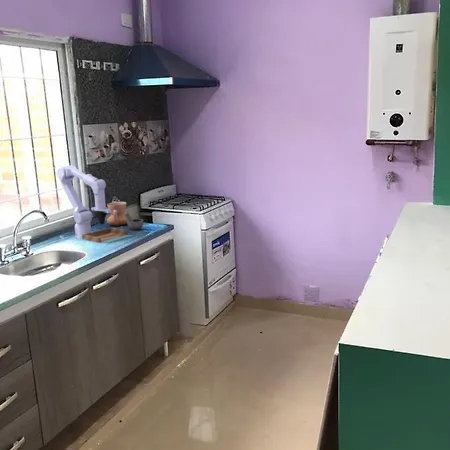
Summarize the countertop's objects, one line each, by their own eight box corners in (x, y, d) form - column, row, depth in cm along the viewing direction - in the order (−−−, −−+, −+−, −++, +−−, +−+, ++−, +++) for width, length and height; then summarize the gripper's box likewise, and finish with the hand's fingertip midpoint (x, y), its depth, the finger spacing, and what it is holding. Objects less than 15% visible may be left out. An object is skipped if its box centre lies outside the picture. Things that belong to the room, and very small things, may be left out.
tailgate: (101, 242, 298) (108, 242, 294) (125, 235, 312) (132, 235, 308) (101, 243, 298) (108, 243, 295) (126, 236, 312) (132, 236, 308)
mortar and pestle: (145, 229, 330) (144, 210, 328) (142, 233, 321) (140, 213, 319) (127, 230, 331) (126, 211, 328) (124, 233, 322) (122, 214, 319)
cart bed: (82, 241, 307) (81, 235, 306) (110, 233, 323) (110, 227, 322) (99, 245, 297) (99, 238, 297) (127, 236, 314) (127, 230, 313)
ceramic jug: (110, 222, 356) (108, 201, 352) (132, 221, 355) (130, 200, 352) (104, 228, 338) (101, 206, 335) (126, 227, 337) (124, 205, 334)
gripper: (113, 200, 303) (115, 224, 306) (97, 198, 312) (99, 221, 315) (104, 203, 298) (106, 226, 301) (87, 200, 306) (89, 223, 309)
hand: (102, 224), depth 307 cm, fingers closed
